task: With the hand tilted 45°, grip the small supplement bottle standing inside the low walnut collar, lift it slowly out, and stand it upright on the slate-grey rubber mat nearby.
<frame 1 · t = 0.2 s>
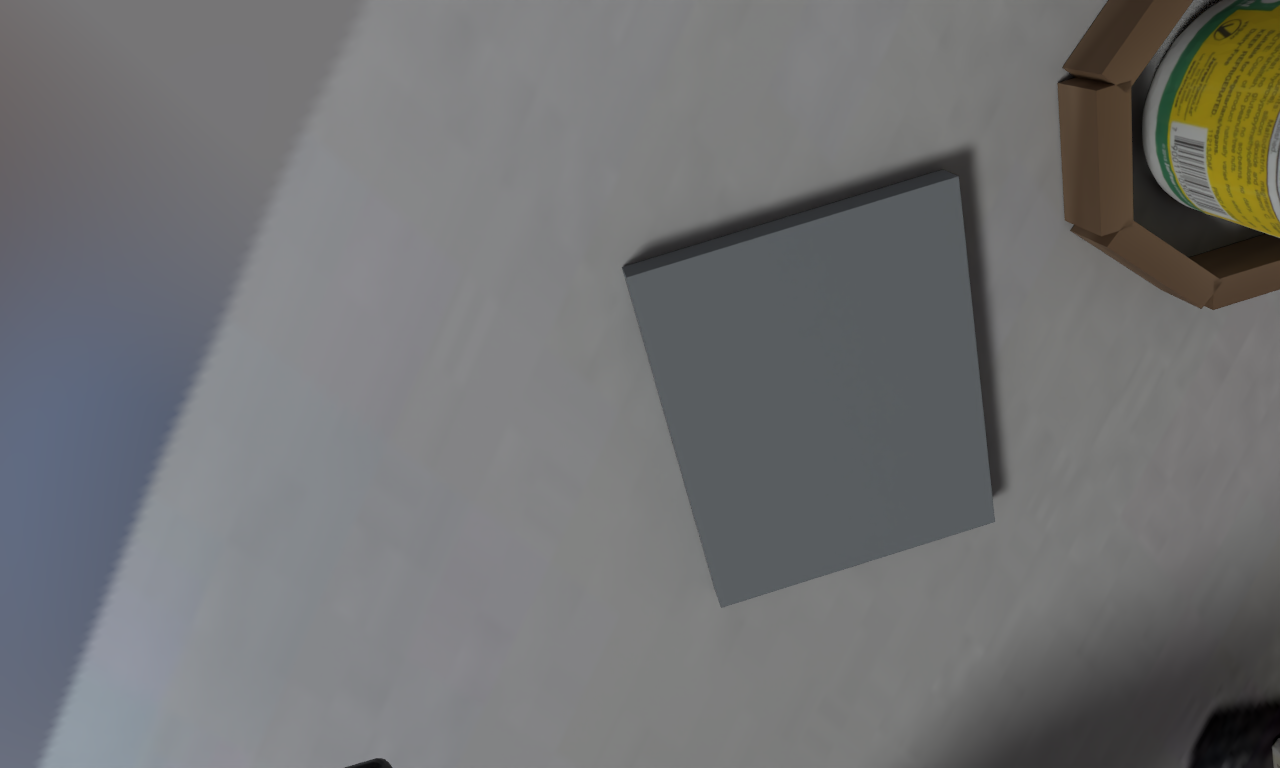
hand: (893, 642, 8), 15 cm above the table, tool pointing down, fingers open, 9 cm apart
mat: (818, 398, 24), on the table
collar: (1238, 99, 22), on the table
supplement bottle: (1231, 98, 22), resting in collar
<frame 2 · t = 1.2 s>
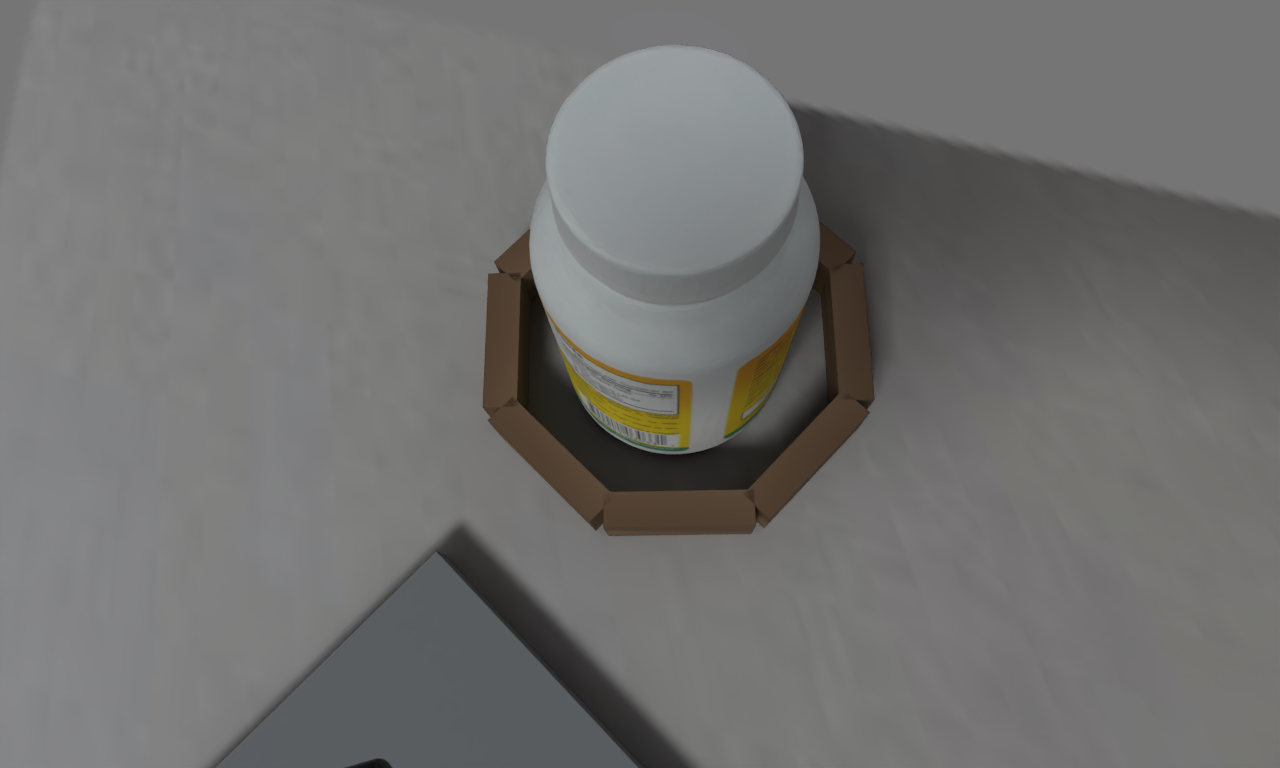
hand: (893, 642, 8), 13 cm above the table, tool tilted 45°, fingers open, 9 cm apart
collar: (675, 354, 23), on the table
supplement bottle: (676, 357, 23), resting in collar
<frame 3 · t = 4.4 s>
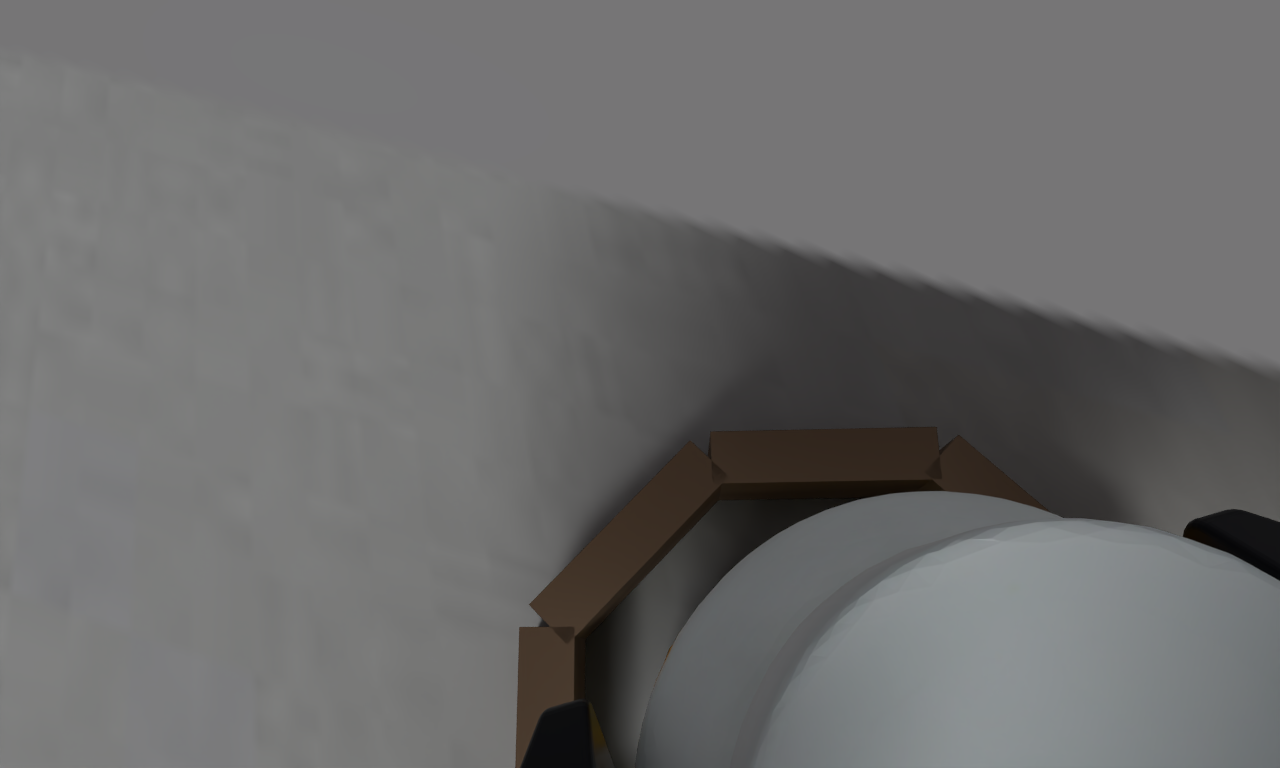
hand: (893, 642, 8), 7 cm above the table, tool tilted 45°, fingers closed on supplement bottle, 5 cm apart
collar: (829, 742, 14), on the table
supplement bottle: (827, 740, 14), resting in collar, touching gripper
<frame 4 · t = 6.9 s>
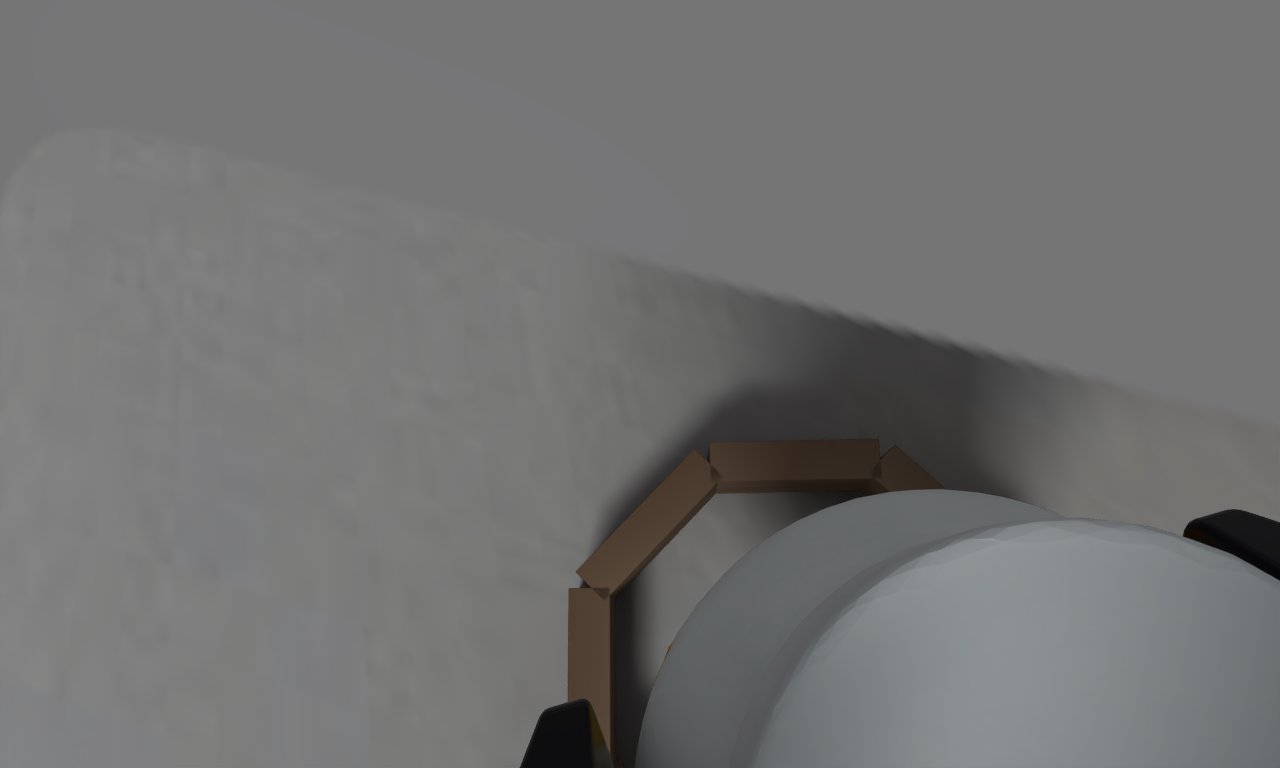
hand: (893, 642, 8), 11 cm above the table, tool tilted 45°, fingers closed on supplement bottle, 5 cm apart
collar: (798, 674, 18), on the table
supplement bottle: (826, 737, 14), point 4 cm above the table, touching gripper
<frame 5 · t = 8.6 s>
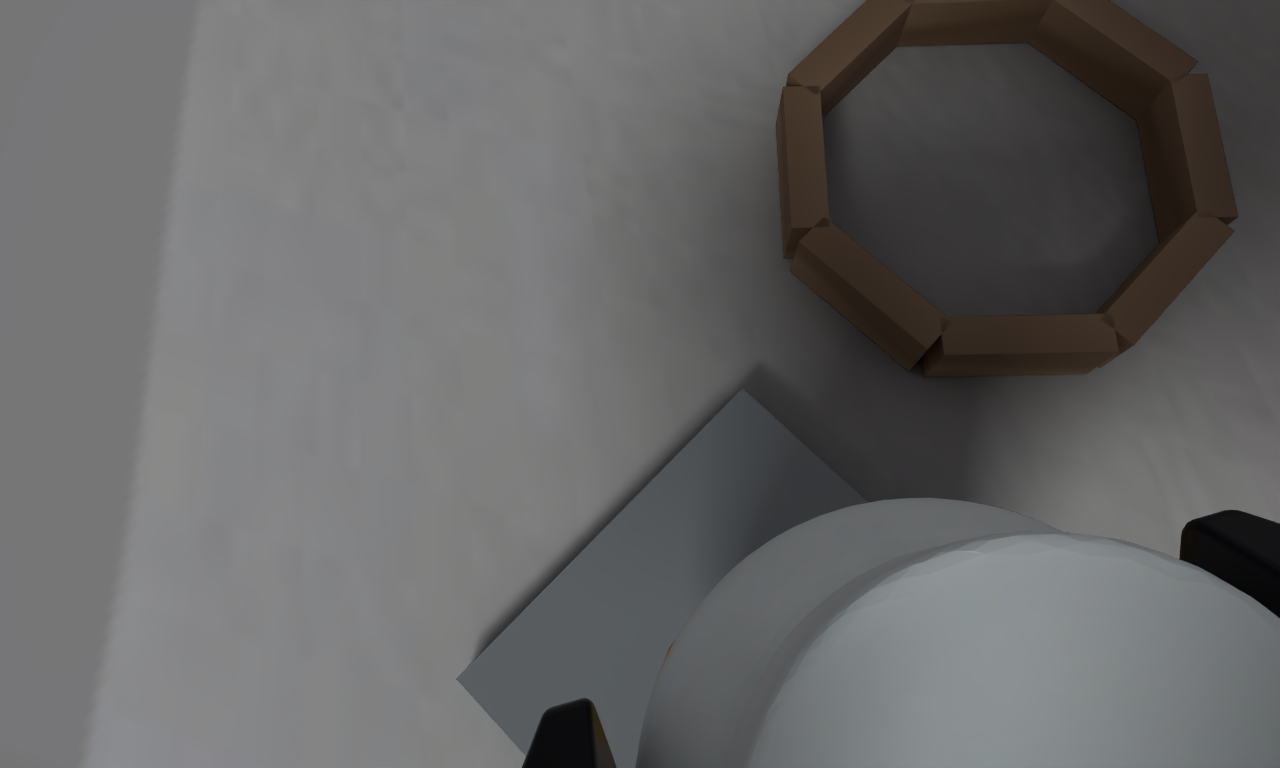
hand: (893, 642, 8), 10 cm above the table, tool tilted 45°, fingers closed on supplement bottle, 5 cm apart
mat: (789, 713, 18), on the table
collar: (980, 184, 21), on the table
supplement bottle: (821, 733, 14), point 3 cm above the table, touching gripper
when the fingers open (8 cm above the table, at t = 9.7 s): supplement bottle stays where it is, resting on mat.
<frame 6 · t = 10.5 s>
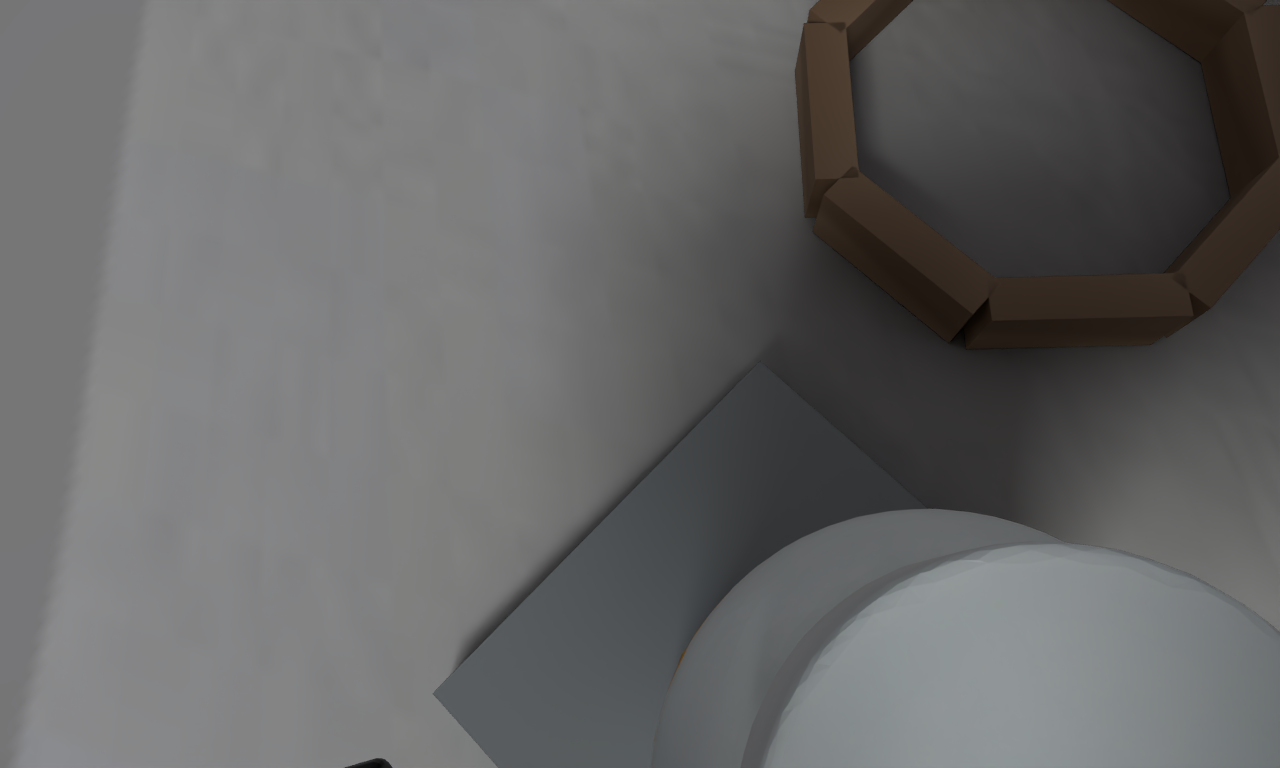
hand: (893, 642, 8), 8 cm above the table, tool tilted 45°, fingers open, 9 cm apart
mat: (816, 733, 15), on the table
collar: (1025, 134, 18), on the table
supplement bottle: (828, 741, 15), point 1 cm above the table, touching mat
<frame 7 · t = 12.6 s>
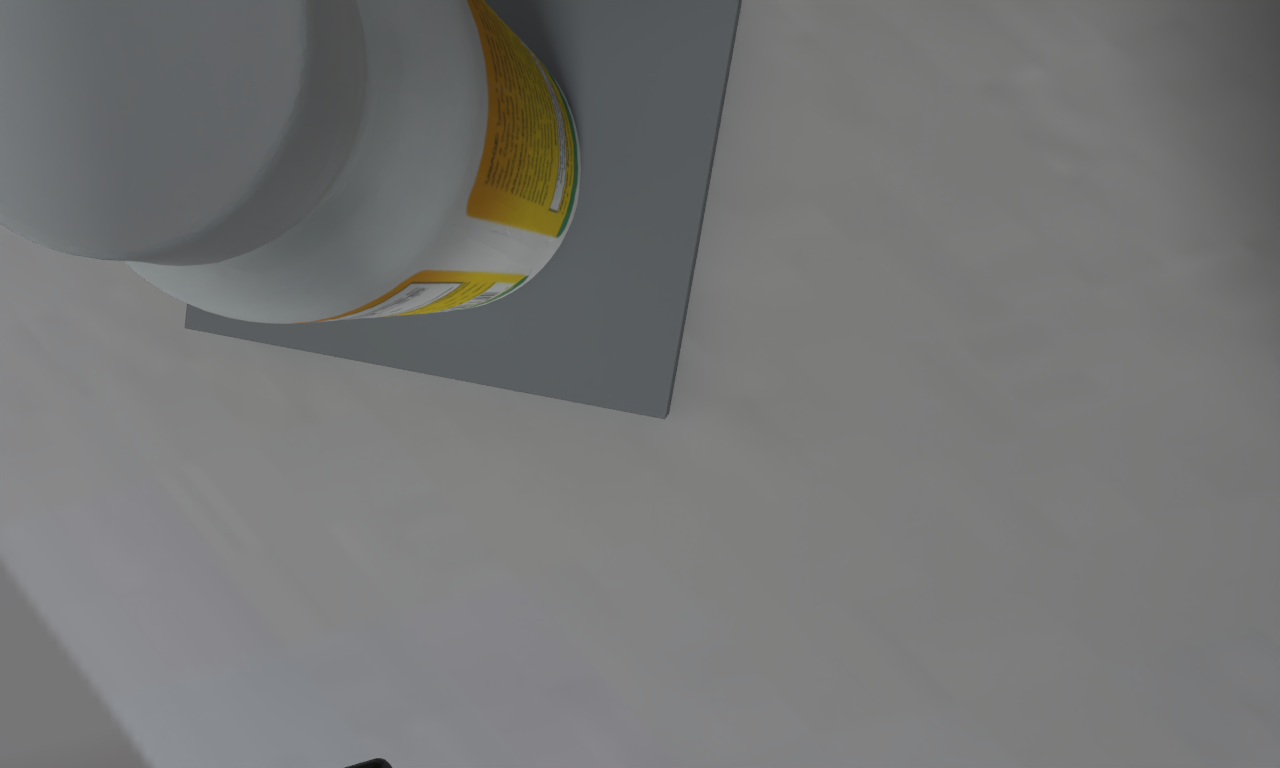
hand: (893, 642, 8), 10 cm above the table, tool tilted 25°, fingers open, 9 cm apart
mat: (459, 173, 18), on the table
supplement bottle: (455, 170, 18), point 1 cm above the table, touching mat
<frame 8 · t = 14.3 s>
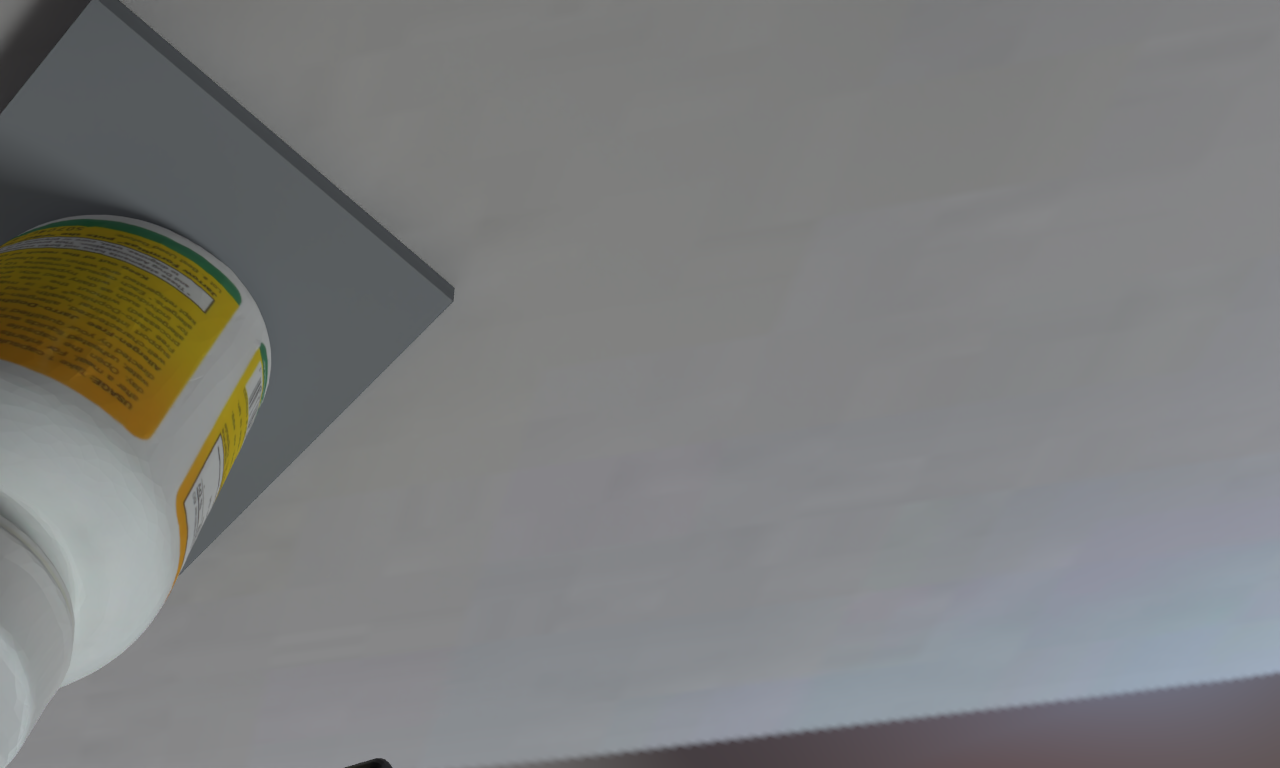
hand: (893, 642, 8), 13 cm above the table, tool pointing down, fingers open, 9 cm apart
mat: (143, 326, 19), on the table
supplement bottle: (136, 333, 18), point 1 cm above the table, touching mat
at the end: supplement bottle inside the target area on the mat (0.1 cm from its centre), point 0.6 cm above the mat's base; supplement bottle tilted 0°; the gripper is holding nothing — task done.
